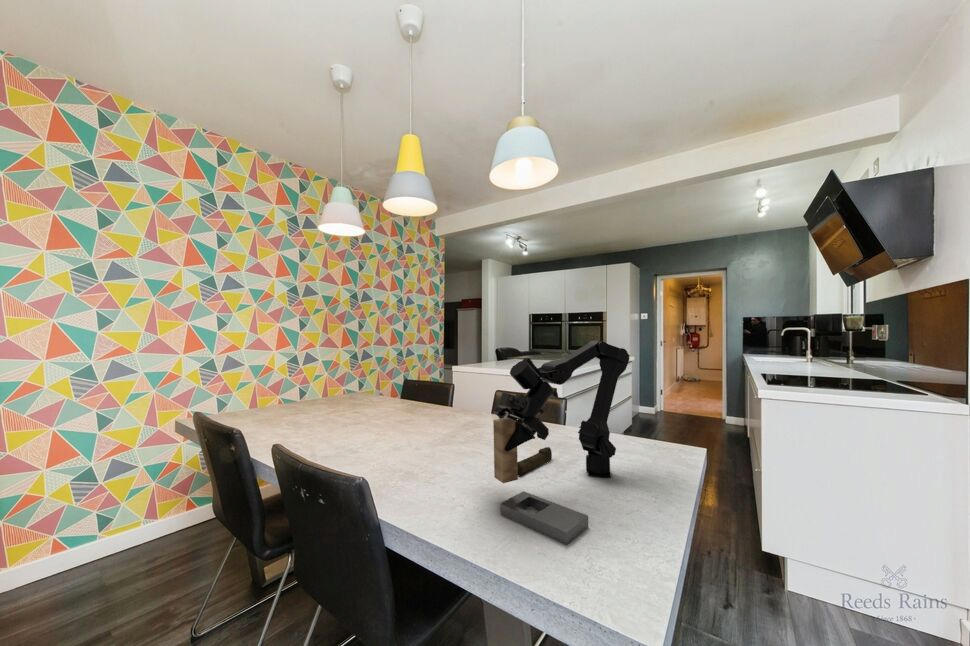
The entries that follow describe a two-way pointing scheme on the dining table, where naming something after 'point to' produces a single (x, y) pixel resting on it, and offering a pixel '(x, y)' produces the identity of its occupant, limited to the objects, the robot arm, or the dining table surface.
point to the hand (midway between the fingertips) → (500, 447)
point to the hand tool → (534, 460)
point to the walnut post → (504, 451)
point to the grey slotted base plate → (545, 517)
